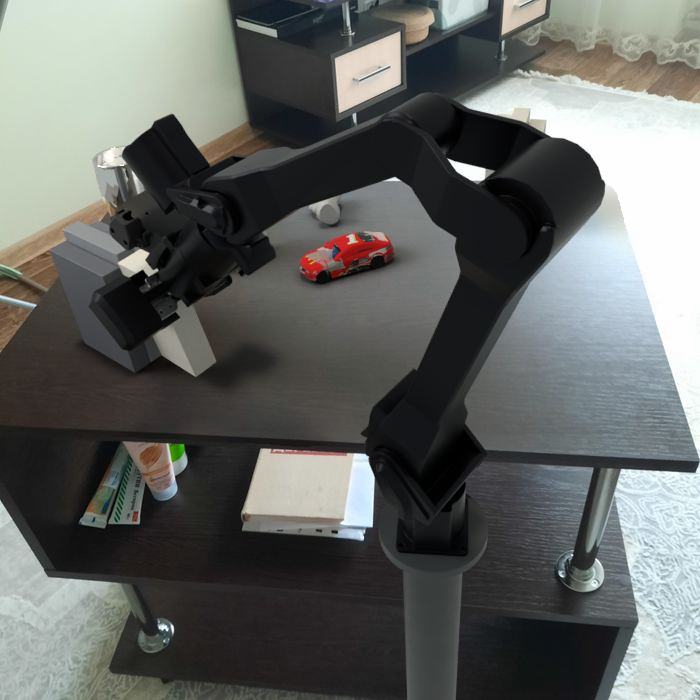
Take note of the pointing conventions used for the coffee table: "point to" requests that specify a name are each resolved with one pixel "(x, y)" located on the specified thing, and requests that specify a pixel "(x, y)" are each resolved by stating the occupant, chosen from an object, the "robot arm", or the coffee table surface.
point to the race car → (346, 255)
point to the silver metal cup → (115, 178)
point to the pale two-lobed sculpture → (327, 210)
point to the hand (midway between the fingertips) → (159, 306)
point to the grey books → (96, 287)
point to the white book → (176, 327)
